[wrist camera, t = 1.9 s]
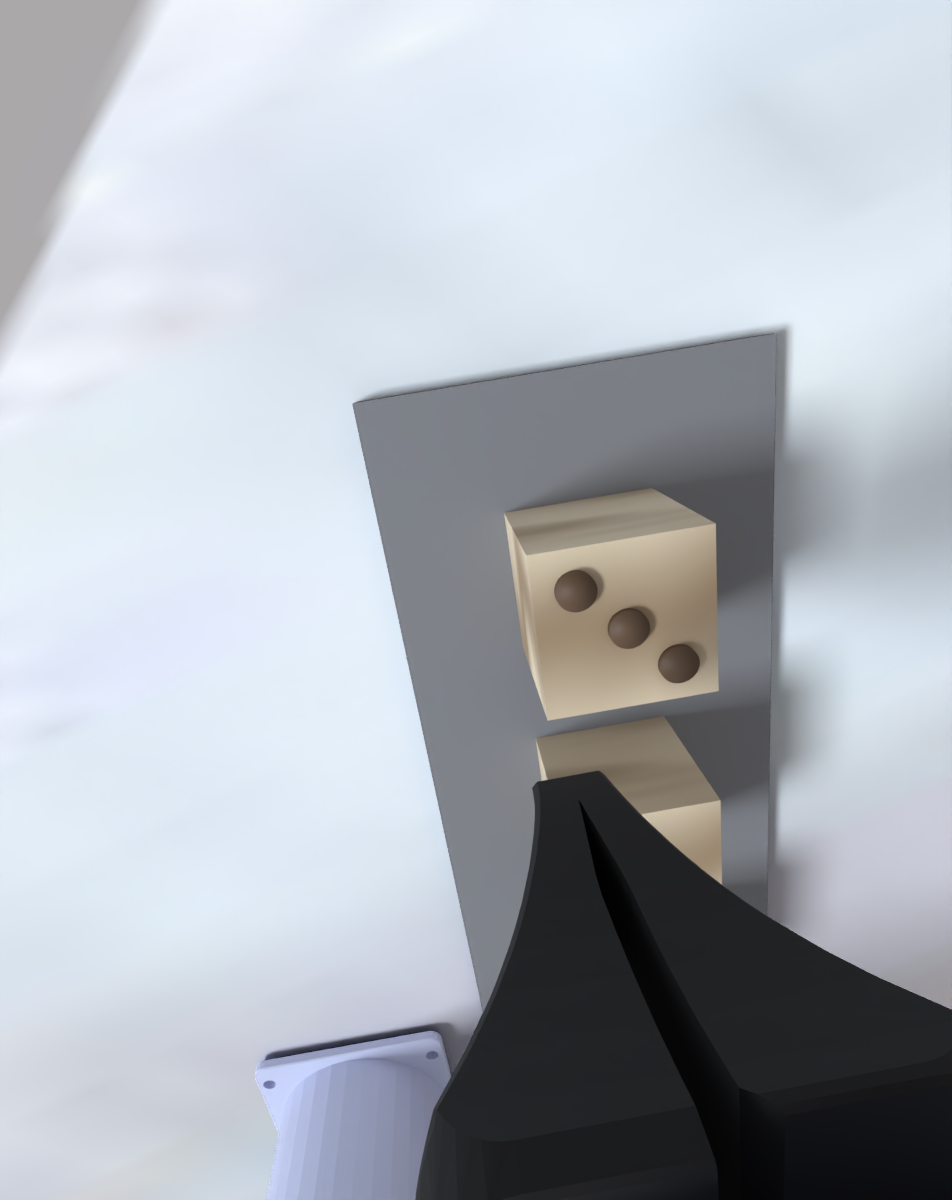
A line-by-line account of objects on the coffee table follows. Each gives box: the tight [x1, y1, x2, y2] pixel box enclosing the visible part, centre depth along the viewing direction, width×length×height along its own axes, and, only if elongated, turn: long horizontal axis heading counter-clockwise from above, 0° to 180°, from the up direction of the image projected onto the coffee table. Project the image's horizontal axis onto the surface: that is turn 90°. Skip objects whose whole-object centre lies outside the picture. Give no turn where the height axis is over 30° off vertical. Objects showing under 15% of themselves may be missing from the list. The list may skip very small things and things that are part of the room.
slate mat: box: [353, 334, 776, 1012], centre depth 23 cm, size 28×12×1 cm, turn 9°
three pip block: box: [504, 488, 719, 721], centre depth 18 cm, size 4×4×5 cm
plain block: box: [536, 716, 722, 884], centre depth 21 cm, size 4×4×4 cm
